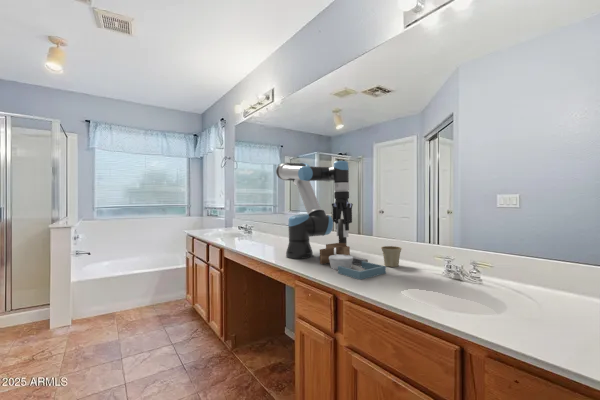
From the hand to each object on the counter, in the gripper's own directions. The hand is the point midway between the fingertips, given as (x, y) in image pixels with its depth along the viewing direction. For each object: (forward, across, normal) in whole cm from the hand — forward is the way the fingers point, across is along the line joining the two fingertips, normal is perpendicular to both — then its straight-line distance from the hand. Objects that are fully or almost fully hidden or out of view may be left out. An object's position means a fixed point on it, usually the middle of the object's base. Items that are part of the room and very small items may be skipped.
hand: (342, 236), depth 150 cm
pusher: (+12, 0, -6) cm, 14 cm away
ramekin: (+13, +10, -10) cm, 20 cm away
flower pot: (+13, +23, +10) cm, 28 cm away
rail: (+13, +6, 0) cm, 14 cm away
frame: (+13, +23, -10) cm, 28 cm away
